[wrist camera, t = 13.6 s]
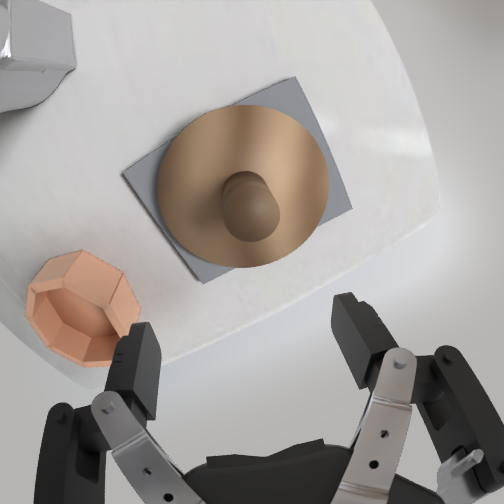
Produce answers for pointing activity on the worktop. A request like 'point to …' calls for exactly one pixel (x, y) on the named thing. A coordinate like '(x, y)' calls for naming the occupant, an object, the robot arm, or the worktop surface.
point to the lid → (243, 186)
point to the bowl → (81, 308)
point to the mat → (276, 97)
